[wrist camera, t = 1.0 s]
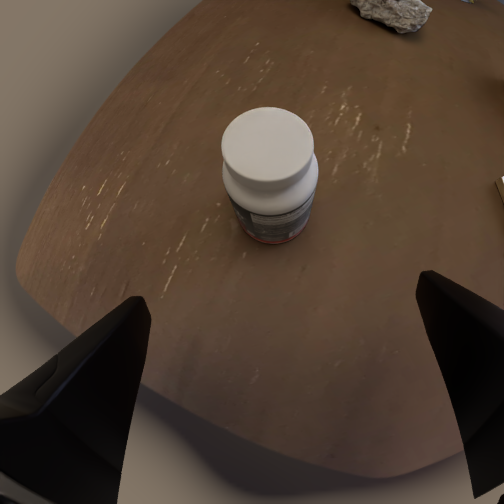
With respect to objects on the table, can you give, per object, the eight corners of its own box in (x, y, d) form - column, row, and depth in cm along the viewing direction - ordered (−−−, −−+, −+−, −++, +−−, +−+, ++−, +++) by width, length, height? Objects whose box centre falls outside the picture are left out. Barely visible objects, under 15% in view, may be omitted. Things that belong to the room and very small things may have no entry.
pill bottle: (234, 184, 25) (209, 107, 15) (302, 175, 24) (310, 93, 15) (241, 250, 23) (214, 198, 14) (314, 241, 23) (336, 182, 13)
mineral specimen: (413, 48, 28) (335, 10, 30) (425, 26, 30) (359, -7, 32) (427, 19, 22) (342, -21, 24) (437, 1, 24) (366, -33, 26)
